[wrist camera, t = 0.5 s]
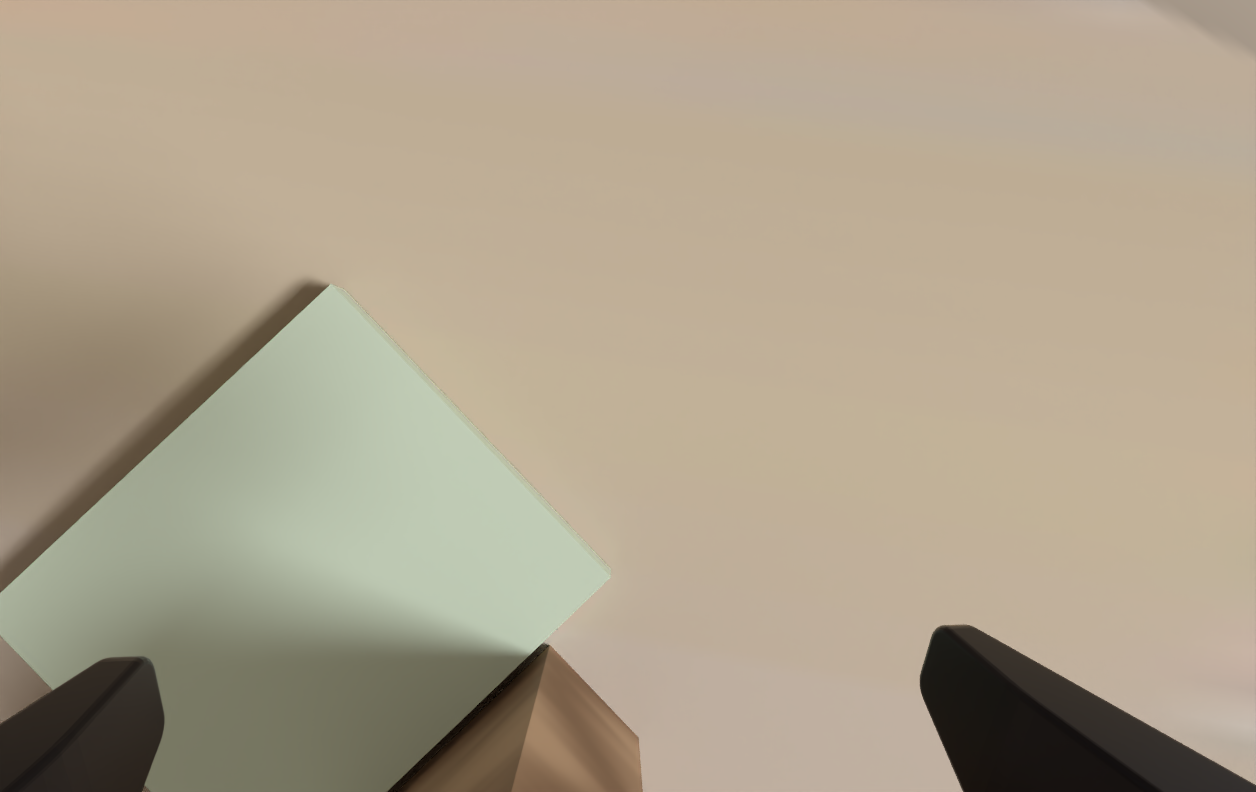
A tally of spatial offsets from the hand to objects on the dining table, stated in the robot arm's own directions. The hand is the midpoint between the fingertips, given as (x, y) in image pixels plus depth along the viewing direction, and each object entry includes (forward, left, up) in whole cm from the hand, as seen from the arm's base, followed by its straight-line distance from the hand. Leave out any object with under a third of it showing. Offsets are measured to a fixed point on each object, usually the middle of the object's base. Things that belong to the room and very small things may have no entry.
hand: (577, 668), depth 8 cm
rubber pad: (+4, +8, -14) cm, 16 cm away
